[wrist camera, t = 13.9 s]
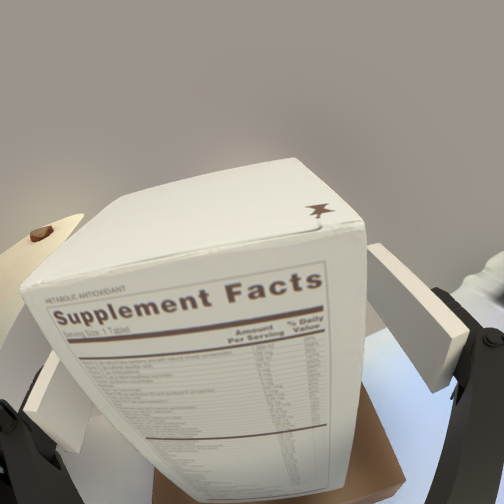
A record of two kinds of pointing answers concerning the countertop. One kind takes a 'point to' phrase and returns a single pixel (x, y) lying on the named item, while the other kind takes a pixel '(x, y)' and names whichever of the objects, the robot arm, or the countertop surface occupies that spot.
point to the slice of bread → (41, 233)
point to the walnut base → (357, 478)
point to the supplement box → (219, 328)
